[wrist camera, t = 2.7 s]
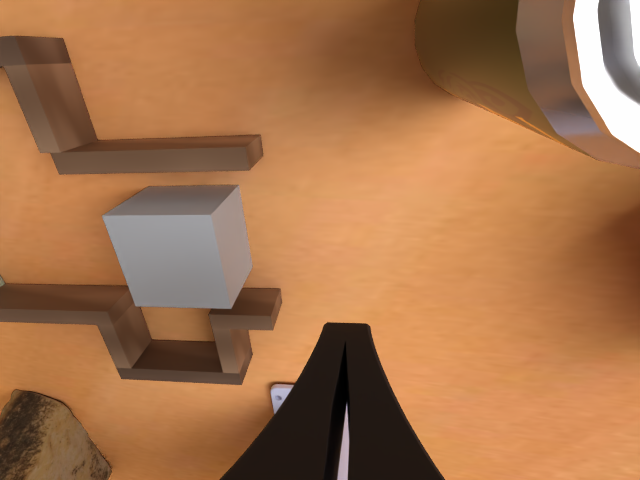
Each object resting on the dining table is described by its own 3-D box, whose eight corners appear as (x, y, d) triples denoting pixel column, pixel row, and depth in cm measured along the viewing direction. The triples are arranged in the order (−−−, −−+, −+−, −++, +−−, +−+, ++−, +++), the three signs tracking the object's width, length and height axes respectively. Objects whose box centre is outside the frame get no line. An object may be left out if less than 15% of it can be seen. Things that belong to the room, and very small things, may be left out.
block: (253, 265, 21) (231, 308, 17) (173, 264, 21) (135, 306, 18) (239, 183, 18) (210, 214, 15) (149, 185, 19) (101, 215, 15)
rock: (129, 510, 31) (118, 467, 26) (7, 604, 26) (-44, 577, 20) (84, 414, 36) (66, 359, 31) (-26, 475, 31) (-75, 423, 25)
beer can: (400, -32, 13) (548, -352, 3) (556, -91, 12) (1818, -1020, 2) (422, 111, 16) (551, 231, 5) (555, 74, 14) (1081, 130, 4)
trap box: (288, 355, 24) (281, 387, 21) (28, 345, 26) (-3, 372, 24) (246, 25, 15) (226, 20, 13) (-144, 52, 17) (-219, 52, 15)
